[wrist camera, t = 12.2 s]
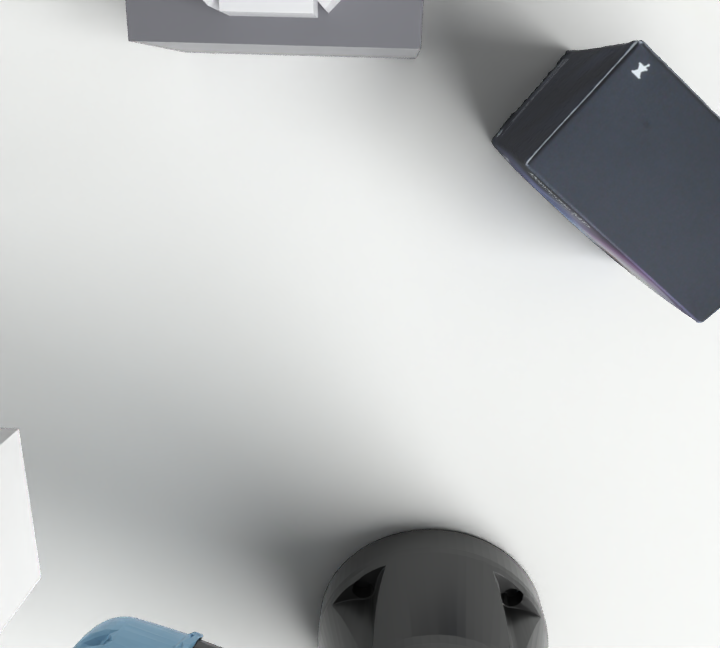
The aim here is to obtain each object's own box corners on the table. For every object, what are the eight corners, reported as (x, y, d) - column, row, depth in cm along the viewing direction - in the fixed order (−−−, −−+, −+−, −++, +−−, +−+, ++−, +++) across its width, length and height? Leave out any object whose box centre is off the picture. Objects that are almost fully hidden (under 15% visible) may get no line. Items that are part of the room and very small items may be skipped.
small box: (481, 146, 36) (515, 166, 26) (569, 45, 34) (641, 25, 25) (620, 270, 38) (699, 333, 28) (710, 180, 36) (830, 213, 26)
